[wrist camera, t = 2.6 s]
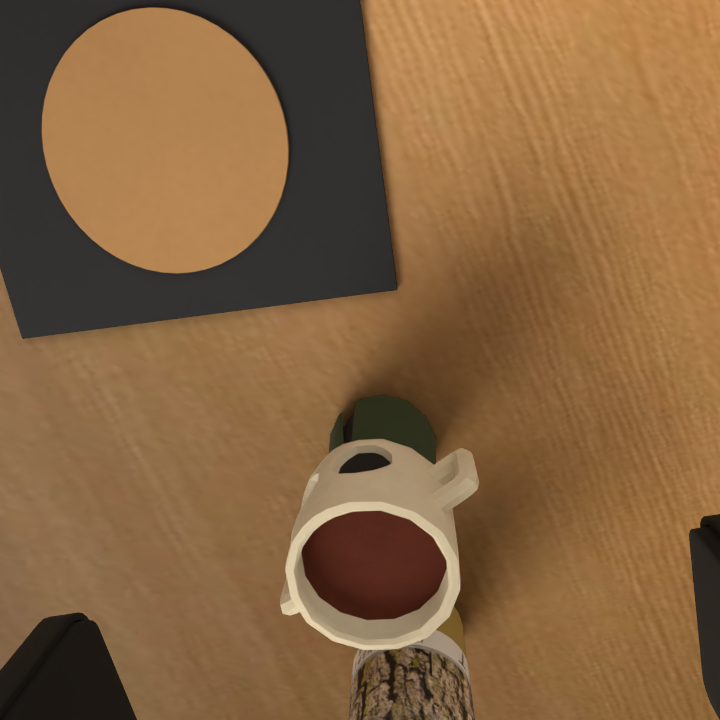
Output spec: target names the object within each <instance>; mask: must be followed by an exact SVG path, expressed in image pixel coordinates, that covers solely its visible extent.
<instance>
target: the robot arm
mask: <svg viewBox="0 0 720 720" xmlns="http://www.w3.org/2000/svg"><path fill="white" fill-rule="evenodd" d="M689 541H690V551H691V561H692V572H693V582H694V592H695V602H696V613H697V623H698V633H699V644H700V654H701V664H702V674H703V681H704V685H705V689H706V692H707V695H708V698H709V700H710V703H711V705H712V707H713V709H714V710H715V712H716V714H717V716H718V717H719V719H720V514H718V515H711V516H705V517H703V518H702V519H701V523H700V528H696V529H691V530H690V533H689ZM0 720H137V719H136V717H135V714H134V712H133V709H132V707H131V704H130V702H129V700H128V697H127V695H126V692H125V690H124V688H123V685H122V683H121V680H120V678H119V676H118V673H117V671H116V668H115V666H114V663H113V661H112V659H111V656H110V654H109V651H108V649H107V647H106V644H105V642H104V639H103V637H102V635H101V632H100V630H99V627H98V626H97V624H96V623H95V622H94V621H91V620H89V619H88V618H87V616H85V615H84V614H83V613H72V614H66V615H59V616H53V617H48V618H45V619H43V620H42V621H41V622H40V623H39V624H38V625H37V626H36V627H35V629H34V630H33V631H32V632H31V634H30V635H29V636H28V637H27V638H26V640H25V641H24V642H23V643H22V645H21V646H20V647H19V648H18V649H17V651H16V652H15V653H14V654H13V656H12V657H11V658H10V659H9V661H8V662H7V663H6V664H5V665H4V667H3V668H2V669H1V670H0Z"/></svg>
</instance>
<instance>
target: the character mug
mask: <svg viewBox="0 0 720 720" xmlns="http://www.w3.org/2000/svg"><path fill="white" fill-rule="evenodd" d="M452 478H454V479H453V480H451V479H452ZM449 480H451V481H450V482H448V481H449ZM446 482H448V483H447V484H446ZM478 485H479V480H478V475H477V471H476V467H475V462H474V459H473V455H472V453H471V452H470V451H468V450H466V449H463V448H460V449H458V450H456V451H454V452H452V453H450V454H449V455H447V456H446V457H444V458H443V459H442V460H440V461H439V462H437V463H436V435H435V433H434V431H433V429H432V428H431V426H430V424H429V422H428V420H427V418H426V416H425V415H423V414H422V413H421V412H420V411H419V410H417V409H416V408H415V407H414V406H412V405H411V404H410V403H409V402H408V401H406V400H402V399H397V398H393V397H388V396H384V395H381V396H375V397H370V398H365V399H360V400H358V401H357V402H356V403H355V408H354V416H352V417H351V418H350V419H349V421H348V422H347V424H346V425H345V426H344V428H343V413H341V414H340V415H339V416H338V418H337V421H336V423H335V425H334V428H333V430H332V432H331V434H330V446H329V454H328V455H327V456H326V457H325V458H324V459H323V460H322V461H321V462H320V464H319V465H318V467H317V468H316V469H315V471H314V472H313V474H312V475H311V476H310V478H309V481H308V484H307V486H306V489H305V492H304V495H303V499H302V505H301V510H300V512H299V514H298V516H297V519H296V522H295V525H294V528H293V531H292V538H291V545H290V548H289V552H288V556H287V559H286V568H285V570H286V575H287V577H286V581H285V584H284V588H283V591H282V595H281V598H280V606H281V609H282V612H283V614H287V615H293V614H296V613H298V612H299V611H300V613H301V615H302V616H303V618H304V619H305V621H306V622H307V623H308V624H309V625H311V626H312V627H314V628H315V629H316V630H318V631H319V632H321V633H322V634H324V635H325V636H326V637H328V638H329V639H331V640H332V641H335V642H338V643H342V644H345V645H348V646H352V647H355V648H359V649H362V650H385V649H399V648H402V647H404V646H407V645H410V644H412V643H415V642H417V641H420V640H423V639H425V638H428V637H429V636H430V635H431V634H432V633H433V632H434V631H435V630H436V629H437V628H438V627H439V626H440V625H441V624H442V623H443V622H444V621H445V620H447V619H448V618H449V617H450V614H451V612H452V609H453V607H454V604H455V601H456V599H457V596H458V594H459V591H460V567H459V554H458V545H457V538H456V530H455V523H454V515H453V507H455V506H456V505H458V504H459V503H461V502H462V501H464V500H465V499H467V498H468V497H470V496H471V495H472V494H473V493H474V492H475V491H476V490H477V489H478Z"/></svg>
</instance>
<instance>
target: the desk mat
mask: <svg viewBox="0 0 720 720" xmlns="http://www.w3.org/2000/svg"><path fill="white" fill-rule="evenodd" d="M0 269H1V272H2V275H3V278H4V282H5V285H6V288H7V291H8V294H9V298H10V301H11V304H12V307H13V310H14V314H15V317H16V320H17V323H18V326H19V330H20V333H21V336H22V339H25V338H33V337H40V336H48V335H56V334H63V333H71V332H79V331H86V330H94V329H102V328H109V327H117V326H124V325H132V324H140V323H147V322H155V321H163V320H170V319H178V318H186V317H193V316H201V315H209V314H216V313H224V312H231V311H239V310H247V309H254V308H262V307H270V306H277V305H285V304H293V303H300V302H308V301H316V300H323V299H331V298H338V297H346V296H354V295H361V294H369V293H377V292H384V291H392V290H397V281H396V273H395V265H394V258H393V250H392V242H391V235H390V227H389V219H388V212H387V204H386V196H385V189H384V181H383V173H382V165H381V158H380V150H379V142H378V135H377V127H376V119H375V112H374V104H373V96H372V89H371V81H370V73H369V65H368V58H367V50H366V42H365V35H364V27H363V19H362V12H361V4H360V0H0Z"/></svg>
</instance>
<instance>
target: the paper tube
mask: <svg viewBox="0 0 720 720" xmlns="http://www.w3.org/2000/svg"><path fill="white" fill-rule="evenodd" d="M347 720H475V718H474V709H473V701H472V694H471V685H470V677H469V669H468V664H467V656H466V648H465V640H464V632H463V625H462V621H461V618H460V615H459V613H458V611H457V609H456V608H455V607H453V609H452V612H451V614H450V617H449V618H448V619H447V620H445V621H444V622H443V623H442V624H441V625H440V626H439V627H438V628H437V629H436V630H435V631H434V632H433V633H432V634H431V635H430V636H429V637H428V638H425V639H423V640H420V641H417V642H415V643H412V644H410V645H407V646H404V647H402V648H399V649H385V650H362V649H359V648H355V657H354V663H353V672H352V681H351V691H350V700H349V710H348V719H347Z"/></svg>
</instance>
